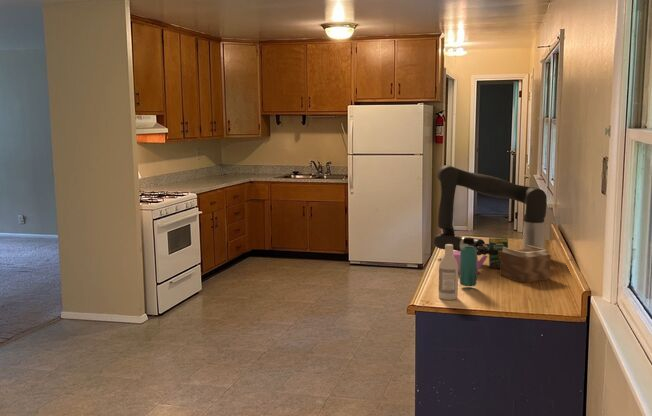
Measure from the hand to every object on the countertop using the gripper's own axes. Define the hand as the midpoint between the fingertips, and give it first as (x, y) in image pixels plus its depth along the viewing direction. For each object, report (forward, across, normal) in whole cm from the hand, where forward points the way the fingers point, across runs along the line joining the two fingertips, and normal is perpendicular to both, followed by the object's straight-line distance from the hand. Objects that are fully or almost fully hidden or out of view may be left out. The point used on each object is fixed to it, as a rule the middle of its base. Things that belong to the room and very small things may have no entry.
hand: (502, 251), depth 280 cm
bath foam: (+14, -54, +8) cm, 57 cm away
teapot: (-6, -18, +8) cm, 20 cm away
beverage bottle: (+10, -38, +8) cm, 40 cm away
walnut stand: (+15, -6, +8) cm, 18 cm away
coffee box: (-2, 0, +8) cm, 8 cm away
